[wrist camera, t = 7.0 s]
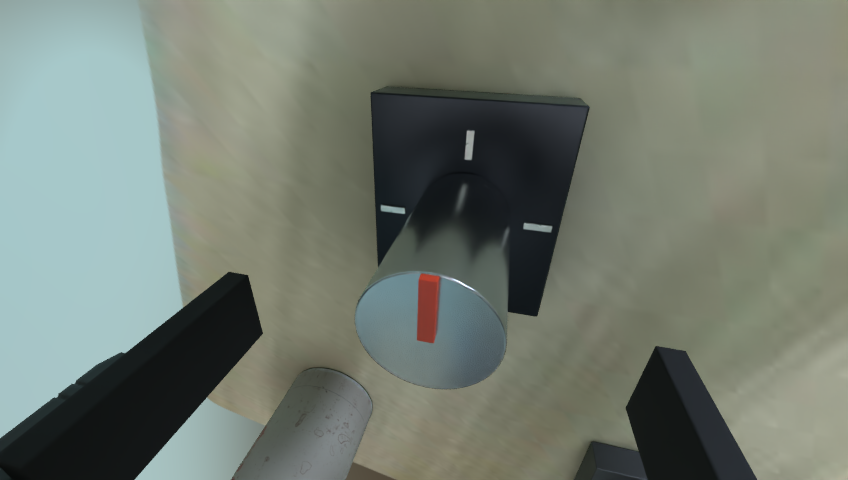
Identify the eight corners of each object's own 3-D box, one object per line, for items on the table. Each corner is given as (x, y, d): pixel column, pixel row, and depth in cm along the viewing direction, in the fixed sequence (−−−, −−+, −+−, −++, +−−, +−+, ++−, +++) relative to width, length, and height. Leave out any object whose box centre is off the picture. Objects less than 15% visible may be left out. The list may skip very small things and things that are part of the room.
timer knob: (503, 263, 20) (494, 410, 12) (416, 250, 21) (355, 380, 13) (517, 178, 17) (519, 293, 9) (418, 167, 18) (344, 265, 10)
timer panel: (535, 292, 23) (537, 319, 21) (390, 269, 25) (377, 292, 23) (581, 98, 17) (590, 106, 15) (386, 86, 19) (368, 92, 17)
